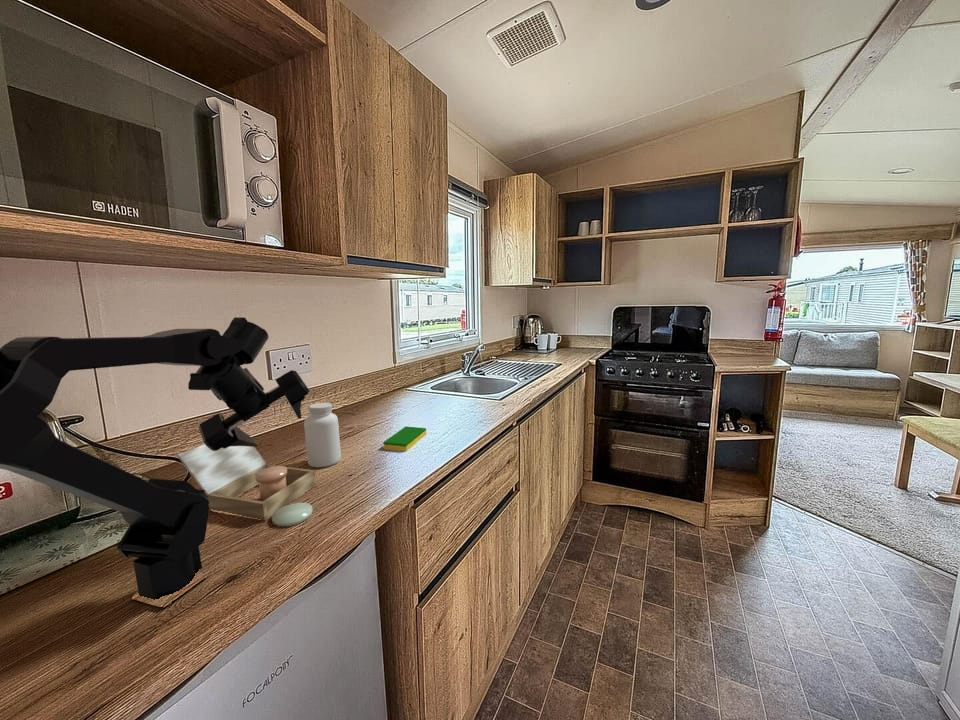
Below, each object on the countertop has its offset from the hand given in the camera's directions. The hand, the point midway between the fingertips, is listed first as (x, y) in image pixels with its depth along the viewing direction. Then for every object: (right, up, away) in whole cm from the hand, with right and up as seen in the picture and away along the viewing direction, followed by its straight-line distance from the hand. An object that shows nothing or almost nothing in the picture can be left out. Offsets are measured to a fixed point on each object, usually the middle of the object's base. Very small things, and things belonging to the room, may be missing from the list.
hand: (278, 430), depth 78 cm
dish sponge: (+19, -10, +34) cm, 40 cm away
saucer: (+5, -16, -4) cm, 17 cm away
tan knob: (-2, -15, +2) cm, 15 cm away
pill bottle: (+1, -12, +20) cm, 24 cm away
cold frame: (-7, -15, +4) cm, 17 cm away
